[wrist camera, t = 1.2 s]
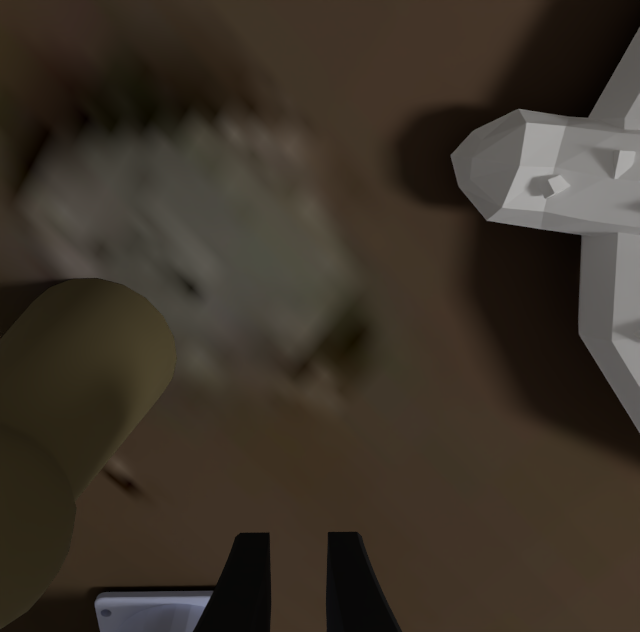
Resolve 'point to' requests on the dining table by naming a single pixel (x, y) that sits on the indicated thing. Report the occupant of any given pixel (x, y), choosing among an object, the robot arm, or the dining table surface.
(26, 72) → the dining table surface
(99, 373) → the cork
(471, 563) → the dining table surface
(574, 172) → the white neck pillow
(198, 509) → the dining table surface
